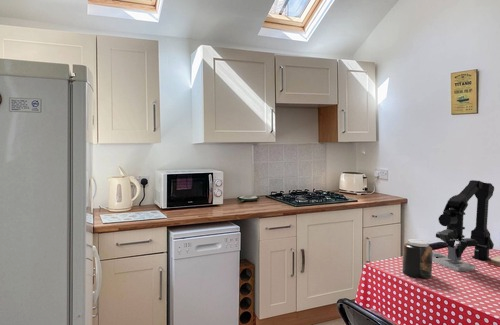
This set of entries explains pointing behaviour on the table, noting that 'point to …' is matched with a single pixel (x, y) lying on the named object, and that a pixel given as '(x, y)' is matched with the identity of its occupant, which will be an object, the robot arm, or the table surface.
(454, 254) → the dark grey block
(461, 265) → the metal plate with holes
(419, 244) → the jar
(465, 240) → the robot arm
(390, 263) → the table surface
